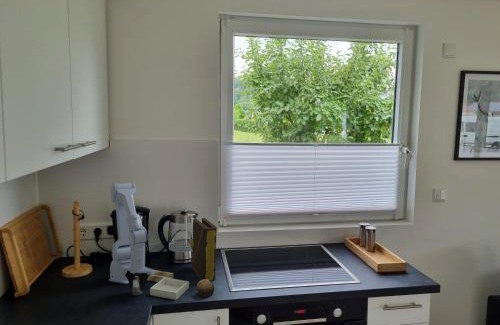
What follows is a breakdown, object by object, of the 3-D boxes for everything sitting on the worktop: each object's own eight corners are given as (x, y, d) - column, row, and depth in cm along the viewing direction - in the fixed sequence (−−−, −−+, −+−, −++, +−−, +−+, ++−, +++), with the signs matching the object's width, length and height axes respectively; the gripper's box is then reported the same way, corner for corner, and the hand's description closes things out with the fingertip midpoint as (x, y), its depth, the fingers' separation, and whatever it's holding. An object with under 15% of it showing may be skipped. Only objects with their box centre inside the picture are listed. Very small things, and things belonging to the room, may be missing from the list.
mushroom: (193, 282, 163) (199, 274, 160) (209, 287, 166) (216, 279, 163) (192, 298, 156) (199, 289, 154) (209, 303, 159) (216, 294, 157)
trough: (143, 279, 172) (143, 274, 172) (150, 274, 178) (150, 269, 178) (167, 283, 169) (167, 278, 169) (173, 278, 175) (173, 273, 174)
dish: (150, 295, 157) (150, 288, 156) (164, 284, 168) (164, 277, 168) (176, 299, 154) (176, 292, 153) (188, 288, 165) (188, 281, 165)
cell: (130, 294, 157) (130, 278, 156) (135, 290, 161) (136, 274, 160) (139, 295, 156) (139, 279, 155) (144, 291, 160) (144, 275, 159)
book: (218, 280, 174) (220, 227, 172) (201, 283, 171) (202, 229, 169) (204, 264, 194) (205, 216, 192) (188, 266, 191) (189, 217, 188)
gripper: (116, 258, 155) (116, 290, 156) (148, 263, 151) (147, 296, 152) (126, 253, 162) (126, 283, 163) (157, 257, 158) (156, 289, 159)
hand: (137, 289), depth 158 cm, fingers closed on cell, 4 cm apart
